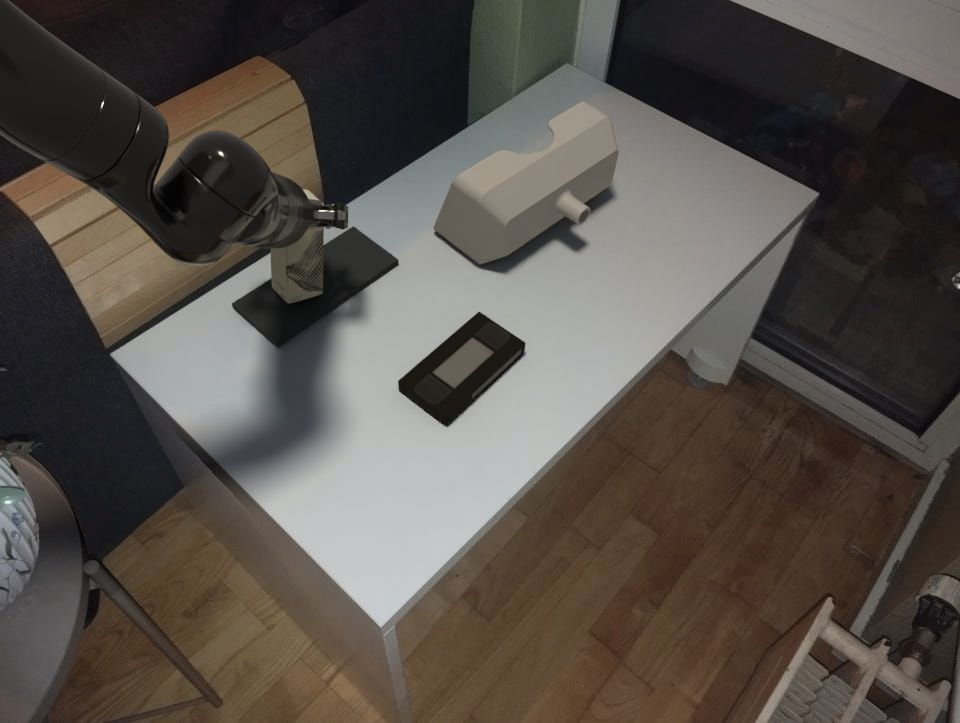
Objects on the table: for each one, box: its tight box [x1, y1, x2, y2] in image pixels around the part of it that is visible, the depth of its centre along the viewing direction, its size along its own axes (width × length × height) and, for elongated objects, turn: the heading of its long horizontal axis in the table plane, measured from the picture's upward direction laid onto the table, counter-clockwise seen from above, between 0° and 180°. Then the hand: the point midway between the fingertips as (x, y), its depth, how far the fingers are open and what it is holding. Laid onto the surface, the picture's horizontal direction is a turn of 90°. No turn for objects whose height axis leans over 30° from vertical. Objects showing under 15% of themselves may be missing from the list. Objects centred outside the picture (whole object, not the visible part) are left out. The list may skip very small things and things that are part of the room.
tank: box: [432, 100, 620, 265], centre depth 103 cm, size 25×16×12 cm, turn 134°
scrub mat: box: [231, 226, 400, 349], centre depth 99 cm, size 20×9×1 cm, turn 137°
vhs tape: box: [397, 311, 526, 427], centre depth 91 cm, size 8×14×2 cm, turn 139°
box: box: [269, 188, 325, 303], centre depth 92 cm, size 5×4×13 cm
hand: (300, 216), depth 92 cm, fingers closed on box, 6 cm apart
